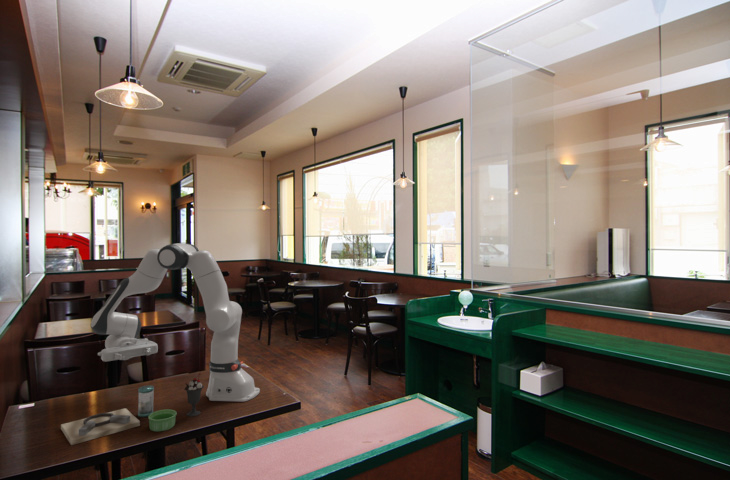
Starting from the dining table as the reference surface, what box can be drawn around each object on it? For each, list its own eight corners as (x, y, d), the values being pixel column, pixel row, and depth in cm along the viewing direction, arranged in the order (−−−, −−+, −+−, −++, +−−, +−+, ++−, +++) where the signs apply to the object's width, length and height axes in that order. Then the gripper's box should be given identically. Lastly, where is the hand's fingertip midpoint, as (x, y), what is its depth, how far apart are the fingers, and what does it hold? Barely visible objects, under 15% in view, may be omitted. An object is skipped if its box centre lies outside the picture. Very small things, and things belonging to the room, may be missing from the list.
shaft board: (125, 412, 154) (125, 402, 154) (139, 425, 143) (140, 415, 143) (60, 428, 140) (61, 418, 140) (71, 445, 129) (71, 434, 129)
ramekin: (156, 420, 148) (157, 408, 148) (181, 421, 148) (181, 409, 148) (142, 432, 139) (142, 419, 139) (168, 433, 139) (168, 420, 139)
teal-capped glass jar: (156, 412, 155) (157, 386, 155) (146, 417, 150) (147, 390, 150) (144, 410, 156) (145, 384, 156) (134, 416, 151) (135, 389, 151)
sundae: (206, 411, 156) (207, 372, 156) (194, 418, 150) (195, 378, 150) (193, 409, 158) (194, 370, 158) (180, 415, 152) (181, 376, 152)
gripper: (96, 345, 163) (106, 352, 154) (150, 337, 178) (162, 343, 169) (96, 360, 163) (105, 368, 154) (150, 351, 178) (162, 358, 169)
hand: (136, 355), depth 161 cm, fingers open, 8 cm apart
